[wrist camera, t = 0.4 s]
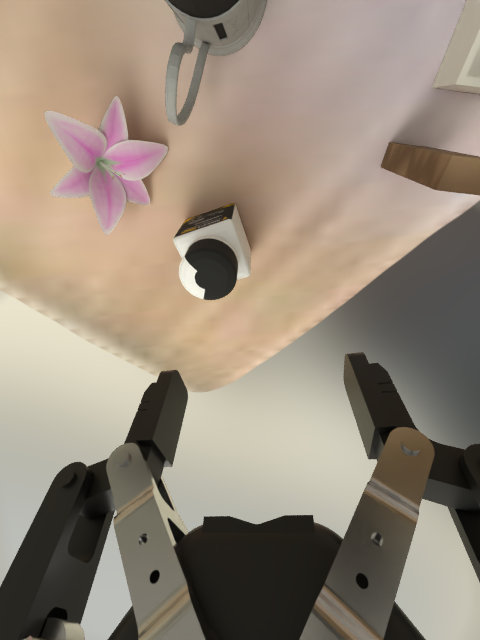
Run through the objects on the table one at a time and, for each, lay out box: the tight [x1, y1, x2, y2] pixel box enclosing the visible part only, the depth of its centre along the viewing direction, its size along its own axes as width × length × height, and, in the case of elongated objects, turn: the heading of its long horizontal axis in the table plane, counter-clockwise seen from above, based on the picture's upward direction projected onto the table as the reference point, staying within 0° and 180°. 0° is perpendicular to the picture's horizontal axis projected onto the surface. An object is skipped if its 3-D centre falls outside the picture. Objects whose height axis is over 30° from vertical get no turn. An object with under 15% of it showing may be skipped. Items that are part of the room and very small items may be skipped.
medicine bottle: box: [173, 203, 251, 300], centre depth 32 cm, size 7×7×12 cm
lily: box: [45, 96, 168, 235], centre depth 29 cm, size 12×12×10 cm
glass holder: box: [165, 0, 267, 126], centre depth 19 cm, size 9×14×15 cm, turn 166°
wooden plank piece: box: [381, 142, 480, 195], centre depth 26 cm, size 2×4×12 cm, turn 85°
